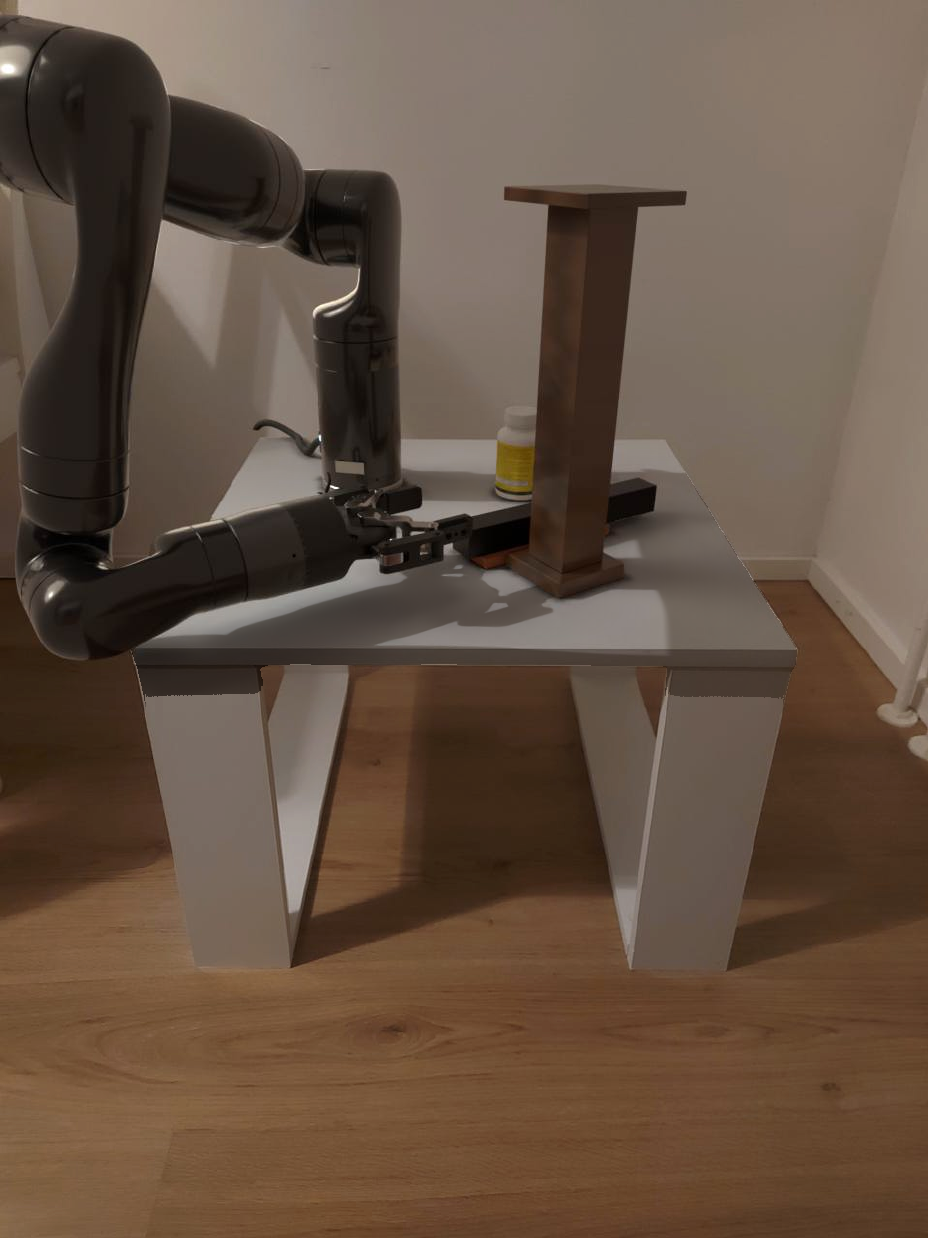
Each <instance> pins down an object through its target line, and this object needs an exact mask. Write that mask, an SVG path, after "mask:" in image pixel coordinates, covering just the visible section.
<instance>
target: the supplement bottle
mask: <svg viewBox="0 0 928 1238" xmlns="http://www.w3.org/2000/svg"><path fill="white" fill-rule="evenodd" d="M536 414H537V407H533V406H527V405H514V406H509V407H507V408H505V409H504V424H505V426H503V427H502V428H500V429H499V430H498V431H497V432H498V433H497V437H496V440H497V441H496V460H495V479H494V481H495V483H494V491H495V493H496V494H497V496H499V497H500V498H503V499H506V500H512V501H530V500H532V486H533V468H534V450H535V432H536Z"/></svg>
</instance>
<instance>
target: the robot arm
mask: <svg viewBox="0 0 928 1238" xmlns="http://www.w3.org/2000/svg"><path fill="white" fill-rule="evenodd" d="M165 84H166V83H165V81H164V80H163V77H162V74H161V73H160V70H159V69H158V67H157V66H156V64H155V62H154V61H153V60H152V58H151V56H150V55H149V54H148V53H147V52H145V50H143V49H142V48H141V47H140V46H139V45H138V44H136V43H135V42H133V41H132V40H129V39H127V38H125V37H123V36H119V35H117V34H113V33H109V32H103V31H99V30H95V29H90V28H84V27H81V26H76V25H71V24H67V23H62V22H57V21H52V20H48V19H41V18H35V17H31V16H28V15H22V14H0V185H2V186H4V187H6V188H8V189H10V190H13V191H15V192H18V193H21V194H23V195H26V196H27V195H28V196H30V197H36V198H41V199H45V200H49V201H52V202H57V203H60V204H65V205H68V206H73V209H74V221H75V239H76V241H75V242H76V245H75V246H76V247H75V249H76V250H75V251H76V253H75V265H74V270H73V275H72V279H71V284H70V286H69V290H68V293H67V295H66V298H65V301H64V303H63V304H62V305H63V306H62V308H61V311H60V313H59V315H58V316H57V318H56V320H55V322H54V324H53V325H52V328H51V330H50V331H49V332H48V334H47V336H46V338H45V339H44V341H43V342H42V344H41V345H40V348H39V350H38V351H37V353H36V354H35V356H34V358H33V359H32V362H31V363H30V365H29V367H28V370H27V372H26V374H25V377H24V379H23V382H22V385H21V390H20V393H19V397H18V403H17V404H18V405H17V412H16V413H17V414H16V438H17V440H16V442H17V443H16V444H17V464H18V465H17V467H18V483H19V493H20V499H21V500H20V501H21V508H20V511H19V512H20V513H19V518H18V525H17V533H16V541H15V552H14V553H15V555H14V557H15V558H14V570H15V582H16V589H17V593H18V597H19V600H20V602H21V604H22V606H23V609H24V610H25V612H26V615H27V616H28V619H29V621H30V623H31V625H32V628H33V630H34V632H35V634H36V636H37V638H38V640H39V641H40V643H41V644H42V645H43V646H44V647H45V648H46V649H47V650H48V651H49V652H51V653H52V654H53V655H56V656H57V657H60V658H62V659H65V660H69V661H78V662H80V661H82V662H89V661H100V660H105V659H106V660H107V659H109V658H114V657H116V656H120V655H122V654H124V653H127V652H129V651H131V650H134V649H135V648H137V647H139V646H141V645H143V644H145V643H147V642H148V641H151V640H153V639H155V638H156V637H158V636H161V635H162V634H164V633H166V632H168V631H170V630H172V629H173V628H176V627H177V626H179V625H180V624H183V622H185V621H187V620H188V619H190V618H192V617H194V616H196V615H201V614H206V613H208V612H214V611H217V610H221V609H225V608H229V607H231V606H236V605H239V604H243V603H244V604H245V603H248V602H255V601H263V600H269V599H273V598H277V597H282V596H285V595H289V594H292V593H296V592H300V591H303V590H304V591H305V590H307V589H311V588H314V587H318V586H323V585H326V584H330V583H333V582H337V581H340V580H343V579H344V578H345V577H346V576H347V575H348V573H349V571H350V568H351V567H352V565H353V564H354V563H355V562H357V561H361V560H376V561H377V562H378V566H379V570H378V571H379V573H380V574H382V575H391V574H396V573H399V572H403V571H407V570H413V569H416V568H419V567H425V566H428V565H432V564H433V565H434V564H436V563H441V562H443V561H444V560H445V546H446V545H450V544H453V543H454V542H458V541H462V540H466V539H469V538H470V537H471V536H472V534H473V518H472V517H471V515H470V514H468V513H461V514H456V515H452V516H448V517H444V518H439V519H437V520H433V521H421V520H420V521H419V520H418V521H417V520H413V518H412V517H411V516H409V515H400V514H401V513H405V512H409V511H414V510H419V509H421V507H422V505H423V488H422V487H421V486H419V485H417V484H412V485H407V486H403V484H404V483H403V472H402V430H401V429H402V427H401V387H400V386H401V384H400V383H401V382H400V381H401V380H400V344H399V343H400V342H399V339H400V338H399V318H400V305H401V258H402V257H401V256H402V231H403V230H402V229H403V228H402V225H403V223H402V221H403V220H402V219H403V217H402V203H401V197H400V193H399V189H398V186H397V184H396V182H395V180H394V178H393V177H392V176H391V175H390V174H389V173H387V172H385V171H381V170H370V169H342V168H341V169H339V168H338V169H335V168H311V169H310V168H308V169H306V168H303V166H302V163H301V161H300V159H299V157H298V155H297V154H296V152H295V151H294V149H293V148H292V147H291V146H290V144H289V143H288V142H287V141H286V140H285V139H284V138H282V137H281V136H280V135H278V134H277V133H275V132H273V131H272V130H271V129H269V128H268V127H265V126H264V125H261V124H260V123H258V122H255V121H254V120H251V119H250V118H248V117H246V116H244V115H241V114H239V113H237V112H234V111H231V110H228V109H225V108H223V107H219V106H216V105H213V104H210V103H206V102H203V101H199V100H195V99H191V98H188V97H187V98H186V97H182V96H178V95H173V94H169V93H168V89H167V87H166V85H165ZM163 221H164V222H167V223H169V224H171V225H174V226H177V227H180V228H182V229H185V230H187V231H191V232H193V233H197V234H199V235H202V236H205V237H209V238H212V239H214V240H218V241H222V242H226V243H230V244H235V245H239V246H245V247H252V248H258V249H259V248H261V249H265V248H272V247H276V248H278V249H280V250H282V251H284V252H286V253H288V254H290V255H292V256H294V257H296V258H298V259H299V260H302V261H304V262H305V263H308V264H311V265H313V266H318V267H323V268H335V269H336V268H337V269H338V268H339V269H356V270H357V269H358V277H357V284H356V287H355V288H354V289H353V290H352V291H351V292H349V293H347V294H346V295H345V296H342V297H339V298H336V299H333V300H331V301H327V302H325V303H322V304H320V305H318V306H317V307H315V309H313V312H312V332H313V333H312V334H313V347H314V348H313V349H314V358H315V359H314V361H315V374H316V375H315V376H316V377H315V378H316V388H317V413H318V428H319V431H318V432H317V433H318V437H317V438H314V439H313V440H312V442H310V444H309V445H308V446H306V444H305V443H304V439H303V436H302V435H301V434H300V433H298V432H296V431H295V430H293V429H291V428H290V427H289V426H287V425H285V424H283V423H282V422H279V421H277V420H273V419H270V418H269V419H268V418H264V419H261V420H258V421H257V422H256V423H255V424H254V425H253V427H252V431H260V430H261V429H262V428H264V427H270V428H274V429H276V430H278V431H280V432H283V434H285V435H286V436H289V437H290V438H292V439H293V440H294V441H295V445H296V447H297V448H298V450H299V451H300V453H302V454H303V455H305V456H310V455H312V454H314V452H315V451H316V450H317V448H319V452H320V458H321V471H322V487H323V489H324V490H325V489H326V486H327V484H328V474H327V472H329V473H330V476H331V485H330V488H329V492H328V493H325V492H324V493H323V492H322V493H323V494H316V495H310V496H305V497H302V498H296V499H291V500H287V501H283V502H278V503H277V502H276V503H273V504H268V505H263V506H258V507H254V508H249V509H246V510H242V511H239V512H236V513H233V514H231V515H229V516H226V517H222V518H217V519H213V520H207V521H203V522H198V523H194V524H189V525H184V526H179V527H176V528H173V529H170V530H167V531H163V532H162V533H159V534H158V535H156V537H154V539H153V540H152V542H151V543H150V547H149V551H148V556H146V557H145V558H142V559H139V560H137V561H134V562H132V563H129V564H127V565H124V566H121V567H116V566H115V562H114V552H113V539H114V529H115V528H117V526H119V525H120V524H121V523H122V522H123V520H124V519H125V517H126V514H127V511H128V506H129V498H130V481H131V480H130V476H131V422H132V421H131V420H132V404H133V390H134V379H135V374H136V373H135V372H136V366H137V360H138V359H137V358H138V355H139V348H140V343H141V337H142V332H143V327H144V322H145V318H146V317H145V316H146V312H147V307H148V303H149V297H150V293H151V286H152V283H153V282H152V281H153V277H154V272H155V265H156V258H157V253H158V246H159V240H160V236H161V230H162V224H163ZM367 482H368V483H367ZM366 483H367V484H366ZM364 484H366V485H364ZM338 488H342V489H340V490H336V489H338ZM334 490H336V491H334ZM356 495H357V497H356V498H355V497H354V496H356ZM350 497H353V498H355V499H354V500H353V501H349V498H350ZM384 512H385V513H386V514H385V513H384ZM398 514H399V515H398ZM397 527H399V528H400V530H401V537H399V538H398V530H397ZM413 533H416V534H413ZM417 533H418V534H417Z"/></svg>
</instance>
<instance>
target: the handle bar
mask: <svg viewBox="0 0 928 1238" xmlns="http://www.w3.org/2000/svg"><path fill="white" fill-rule="evenodd" d="M657 490H658V485H657V484H655V483H652V482H650V481H648V480H645V479H643V478H641V477H634V478H630V479H626V480H621V481H616V482H613V483H610V491H609V501H608V511H607V520H606V524H611V523H614V522H619V521H622V520H625V519H629V518H630V519H631V518H633V517H637V516H641V515H645V514H649V513H652V512H653V513H654V512H655V505H656V497H657ZM531 504H532V501H530V502H527V503H523V504H518V505H515V506H509V507H505V508H501V509H497V510H493V511H488V512H484V513H480V514H476V515H475V514H474V515H472V516H471V515H470V516H471V517H472V518H473V534H472V536H471V537H470V538H469V539H466V540H462V541H458V542H454V543H452V549H453V550H454V551H456V552H457V553H459V555H462V556H463V557H465V559H468V560H471V559H473V558H477V557H480V556H484V555H488V554H492V553H496V552H500V551H503V550H507V549H511V548H515V547H519V546H523V545H526V544H529V540H530V522H531Z"/></svg>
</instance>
